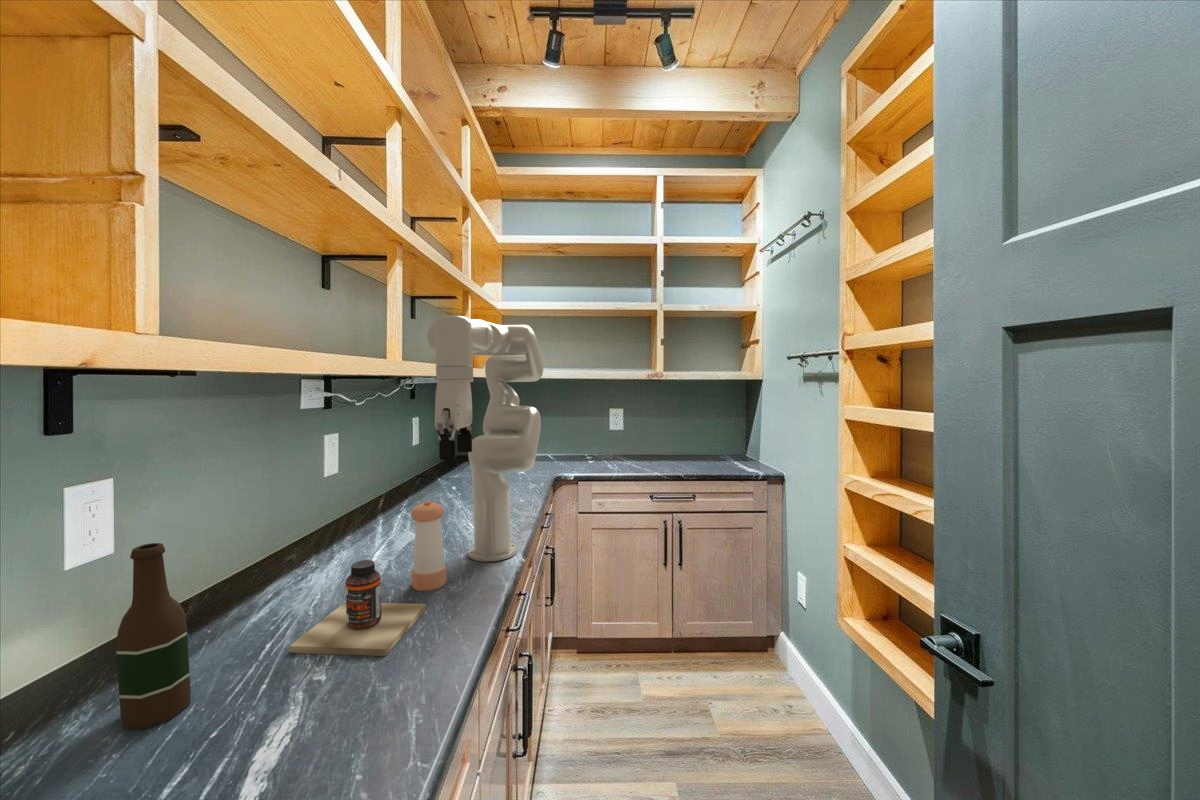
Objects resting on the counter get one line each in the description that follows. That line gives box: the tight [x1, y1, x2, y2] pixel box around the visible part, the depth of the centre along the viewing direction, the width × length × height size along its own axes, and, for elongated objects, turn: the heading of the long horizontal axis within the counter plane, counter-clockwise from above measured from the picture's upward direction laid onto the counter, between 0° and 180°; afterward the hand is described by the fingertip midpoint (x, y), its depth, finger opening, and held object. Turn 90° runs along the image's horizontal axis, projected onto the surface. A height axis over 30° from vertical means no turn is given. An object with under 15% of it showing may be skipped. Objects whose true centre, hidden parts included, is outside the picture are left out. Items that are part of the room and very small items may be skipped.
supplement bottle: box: [345, 559, 382, 629], centre depth 90 cm, size 6×6×11 cm
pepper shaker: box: [410, 499, 447, 592], centre depth 109 cm, size 7×7×19 cm
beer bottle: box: [115, 542, 191, 730], centre depth 68 cm, size 8×8×24 cm
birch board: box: [289, 601, 427, 657], centre depth 90 cm, size 16×17×1 cm
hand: (456, 455), depth 102 cm, fingers open, 9 cm apart
